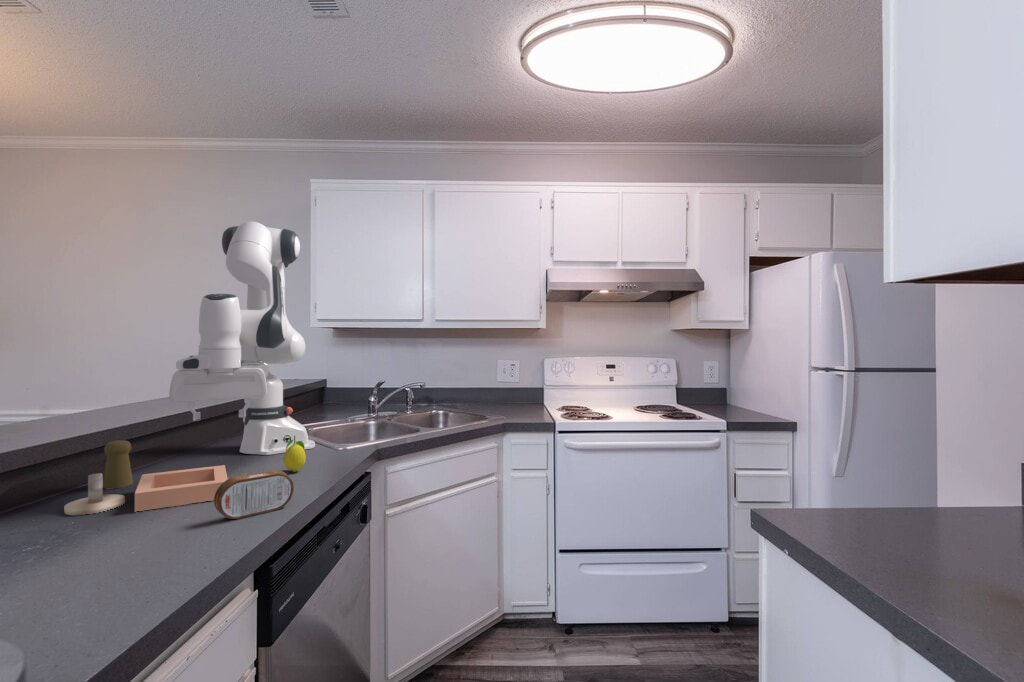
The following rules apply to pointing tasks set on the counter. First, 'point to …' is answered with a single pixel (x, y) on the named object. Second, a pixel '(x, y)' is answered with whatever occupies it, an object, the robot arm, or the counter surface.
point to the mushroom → (94, 499)
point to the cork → (117, 465)
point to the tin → (253, 494)
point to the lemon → (294, 455)
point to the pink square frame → (178, 487)
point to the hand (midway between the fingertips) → (220, 418)
